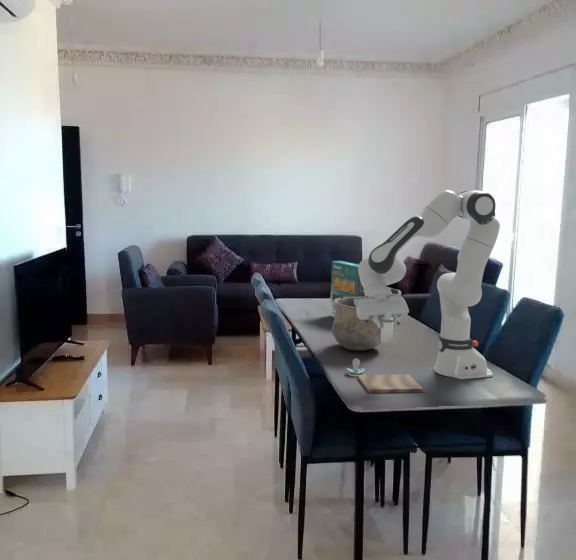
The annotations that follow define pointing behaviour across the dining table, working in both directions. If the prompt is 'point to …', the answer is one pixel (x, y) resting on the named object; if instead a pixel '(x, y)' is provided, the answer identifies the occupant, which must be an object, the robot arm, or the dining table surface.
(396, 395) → the dining table surface
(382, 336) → the white bar-topped cylinder
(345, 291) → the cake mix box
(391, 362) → the dining table surface
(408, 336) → the dining table surface
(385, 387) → the board
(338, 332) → the pot
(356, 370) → the pacifier
